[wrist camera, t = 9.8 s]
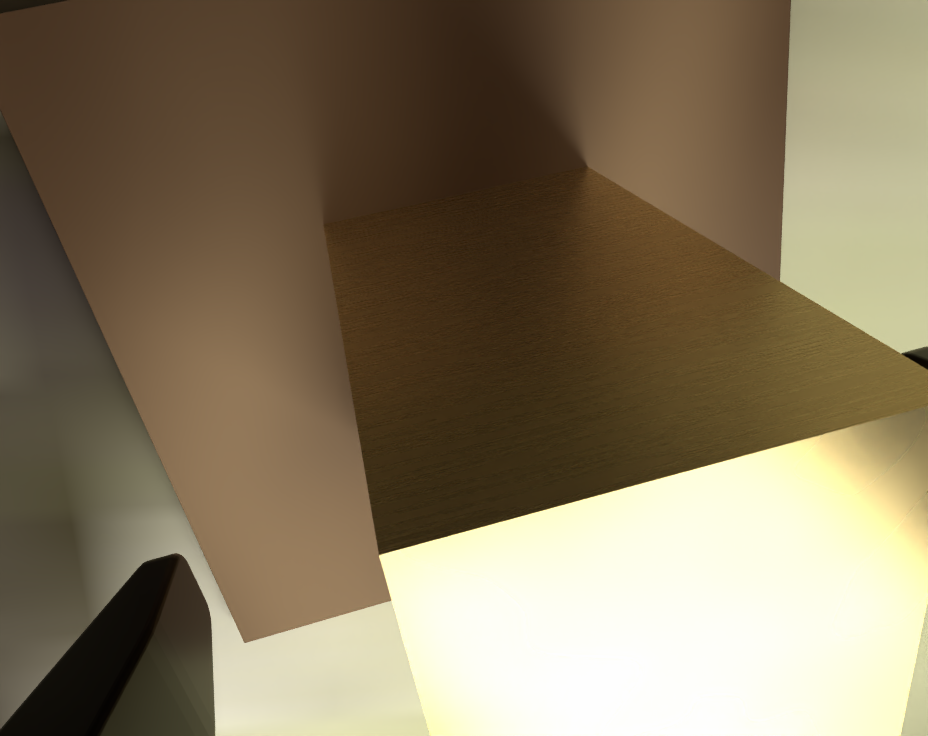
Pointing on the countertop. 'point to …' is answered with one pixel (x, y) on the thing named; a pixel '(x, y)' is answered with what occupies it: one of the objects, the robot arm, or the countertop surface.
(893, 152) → the countertop surface
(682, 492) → the wood grain block
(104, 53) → the copper pad
